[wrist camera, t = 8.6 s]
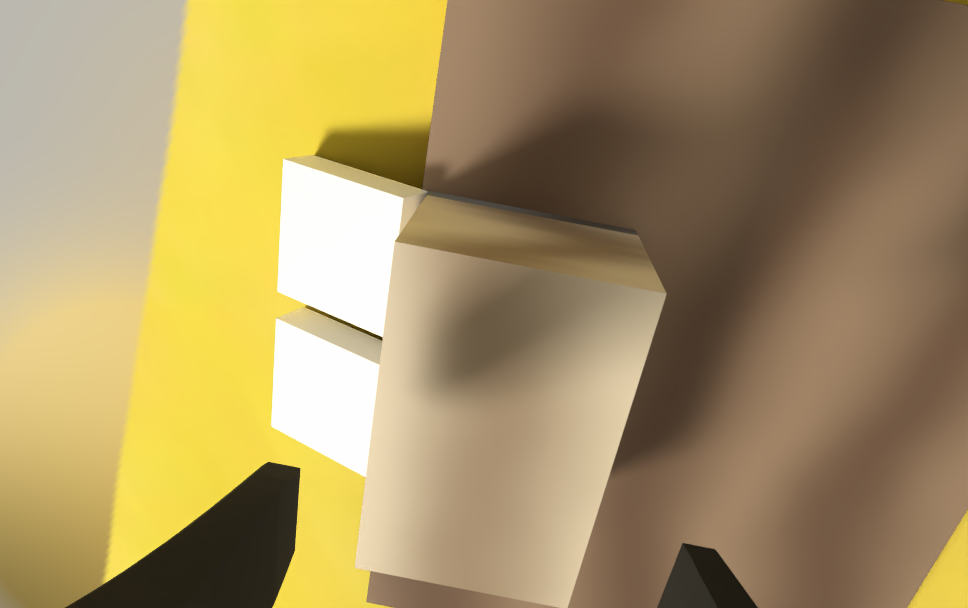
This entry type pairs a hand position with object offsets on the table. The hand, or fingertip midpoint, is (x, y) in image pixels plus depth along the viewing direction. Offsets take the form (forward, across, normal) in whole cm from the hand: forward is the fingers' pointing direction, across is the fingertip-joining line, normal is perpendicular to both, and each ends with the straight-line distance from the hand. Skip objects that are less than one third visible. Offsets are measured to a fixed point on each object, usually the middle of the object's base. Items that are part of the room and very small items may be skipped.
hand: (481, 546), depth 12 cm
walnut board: (+9, -6, 0) cm, 11 cm away
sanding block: (+8, 0, 0) cm, 8 cm away
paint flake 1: (+8, +5, -2) cm, 10 cm away
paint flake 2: (+8, +5, +2) cm, 10 cm away
